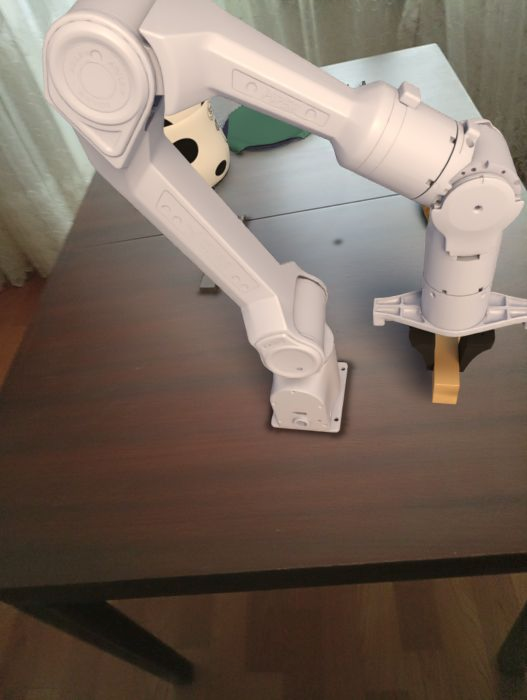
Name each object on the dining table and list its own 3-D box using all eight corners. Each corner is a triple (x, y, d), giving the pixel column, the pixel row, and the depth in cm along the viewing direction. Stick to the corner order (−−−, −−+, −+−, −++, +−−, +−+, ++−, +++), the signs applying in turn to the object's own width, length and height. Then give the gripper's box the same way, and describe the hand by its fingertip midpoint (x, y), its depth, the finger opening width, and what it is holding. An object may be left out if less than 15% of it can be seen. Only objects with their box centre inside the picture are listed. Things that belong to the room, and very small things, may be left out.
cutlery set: (226, 113, 107) (223, 103, 105) (367, 83, 102) (366, 71, 101) (222, 165, 95) (219, 154, 93) (382, 133, 90) (382, 121, 88)
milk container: (246, 152, 96) (220, 53, 82) (218, 209, 87) (184, 109, 73) (167, 155, 102) (131, 63, 88) (133, 209, 92) (86, 116, 78)
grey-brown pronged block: (224, 292, 74) (221, 287, 73) (194, 292, 75) (191, 287, 74) (248, 220, 83) (246, 214, 82) (221, 221, 85) (219, 215, 84)
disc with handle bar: (420, 309, 60) (422, 288, 58) (466, 310, 59) (470, 289, 56) (418, 401, 53) (419, 383, 50) (470, 405, 52) (475, 386, 49)
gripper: (546, 239, 43) (516, 336, 53) (375, 242, 47) (378, 332, 58) (557, 299, 39) (522, 392, 49) (369, 297, 43) (374, 383, 54)
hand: (445, 363), depth 53 cm, fingers closed on disc with handle bar, 2 cm apart
